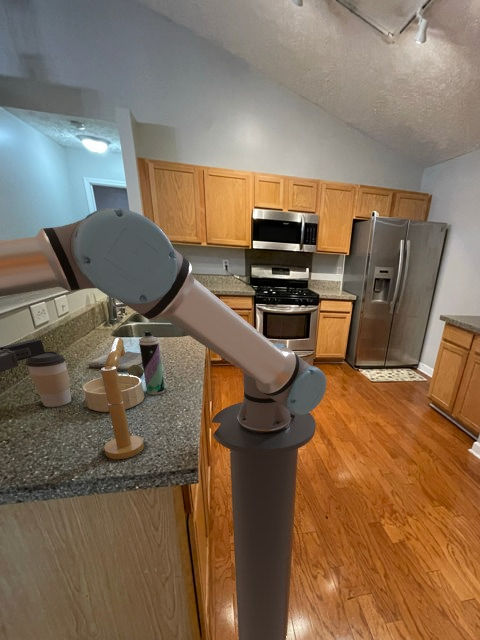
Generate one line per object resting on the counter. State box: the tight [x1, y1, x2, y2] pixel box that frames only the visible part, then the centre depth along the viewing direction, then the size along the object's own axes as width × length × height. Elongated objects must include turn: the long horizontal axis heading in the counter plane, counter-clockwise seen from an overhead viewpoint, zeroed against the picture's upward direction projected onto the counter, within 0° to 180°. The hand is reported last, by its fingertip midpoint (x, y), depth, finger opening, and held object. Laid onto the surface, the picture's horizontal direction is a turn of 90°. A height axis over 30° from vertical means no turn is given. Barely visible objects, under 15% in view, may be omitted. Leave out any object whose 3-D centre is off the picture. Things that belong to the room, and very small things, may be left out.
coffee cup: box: [25, 350, 72, 408], centre depth 91 cm, size 9×9×15 cm
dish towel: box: [87, 350, 143, 372], centre depth 128 cm, size 19×18×3 cm
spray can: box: [138, 330, 166, 396], centre depth 101 cm, size 6×6×20 cm
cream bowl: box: [82, 374, 145, 413], centre depth 95 cm, size 15×15×6 cm
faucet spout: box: [100, 337, 126, 404], centre depth 78 cm, size 29×3×8 cm, turn 24°
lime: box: [127, 365, 144, 379], centre depth 114 cm, size 4×5×5 cm
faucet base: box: [103, 401, 145, 460], centre depth 71 cm, size 8×8×12 cm
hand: (39, 346), depth 62 cm, fingers closed
